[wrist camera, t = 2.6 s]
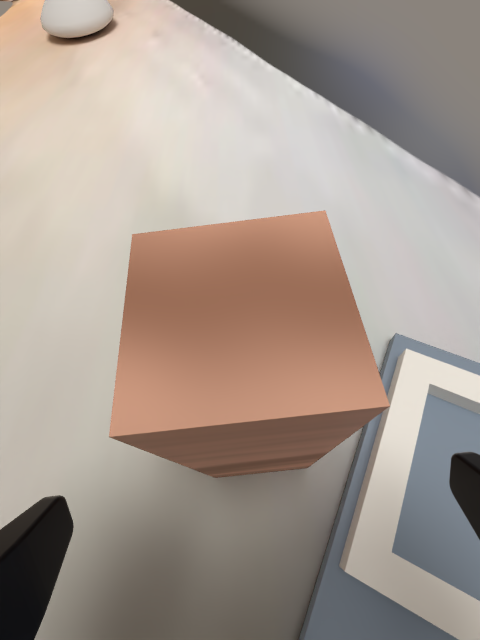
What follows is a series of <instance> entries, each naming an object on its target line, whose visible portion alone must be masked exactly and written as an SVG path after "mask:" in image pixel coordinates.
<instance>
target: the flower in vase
mask: <svg viewBox="0 0 480 640" xmlns="http://www.w3.org/2000/svg"><path fill="white" fill-rule="evenodd" d="M113 12H114V11H113V8H112V7H111V5H110V3H109V2H108V1H107V0H45V2H44V5H43V8H42V13H41V24H42V27H43V29H44V30H45V31H46V32H48V33H49V34H51V35H54V36H57V37H62V38H74V37H81V36H85V35H89V34H92V33H95V32H97V31H99V30H101V29H103V28H104V27H105V26H106V25H107V24H108V23H109V22H110V21H111V20H112V18H113Z"/></svg>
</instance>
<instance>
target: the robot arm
mask: <svg viewBox="0 0 480 640" xmlns="http://www.w3.org/2000/svg"><path fill="white" fill-rule="evenodd" d="M449 485H450V489H451V492H452V494H453V496H454V497H455V499H456V501H457V503H458V504H459V506H460V508H461V509H462V511H463V513H464V514H465V516H466V518H467V520H468V521H469V523H470V525H471V526H472V528H473V530H474V531H475V533H476V535H477V537H478V538H479V540H480V455H479V454H477V453H474V452H460V453H455V454H453V455H452V457H451V464H450V478H449ZM72 533H73V520H72V517H71V514H70V511H69V508H68V505H67V502H66V499H65V498H64V497H63V496H50V497H45V498H43V499H41V500H40V501H38V502H37V503H36V504H34V505H33V506H32V507H30V508H29V509H28V510H26V511H25V512H24V513H22V514H21V515H19V516H18V517H17V518H15V519H14V520H13V521H11V522H10V523H9V524H7V525H6V526H5V527H3V528H2V529H1V530H0V640H34V638H35V636H36V634H37V631H38V629H39V627H40V624H41V622H42V619H43V617H44V614H45V612H46V609H47V606H48V604H49V601H50V598H51V595H52V592H53V589H54V586H55V583H56V581H57V578H58V575H59V572H60V569H61V566H62V563H63V560H64V557H65V554H66V551H67V548H68V545H69V542H70V540H71V537H72Z"/></svg>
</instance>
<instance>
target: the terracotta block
mask: <svg viewBox="0 0 480 640" xmlns="http://www.w3.org/2000/svg"><path fill="white" fill-rule="evenodd" d="M388 407H390V404H389V401H388V398H387V395H386V392H385V389H384V386H383V383H382V380H381V377H380V374H379V371H378V368H377V365H376V362H375V359H374V356H373V353H372V350H371V347H370V344H369V341H368V338H367V335H366V332H365V329H364V326H363V323H362V320H361V317H360V314H359V311H358V308H357V305H356V302H355V299H354V296H353V293H352V290H351V287H350V284H349V281H348V278H347V275H346V272H345V269H344V266H343V263H342V260H341V257H340V254H339V251H338V248H337V245H336V242H335V238H334V235H333V232H332V229H331V226H330V223H329V220H328V217H327V214H326V211H318V212H310V213H301V214H293V215H285V216H277V217H269V218H261V219H253V220H245V221H237V222H229V223H220V224H212V225H204V226H196V227H188V228H180V229H172V230H164V231H156V232H148V233H140V234H132V242H131V251H130V260H129V268H128V277H127V286H126V294H125V303H124V312H123V320H122V329H121V338H120V347H119V355H118V364H117V373H116V381H115V390H114V399H113V407H112V416H111V425H110V433H109V437H111V438H113V439H116V440H118V441H121V442H124V443H126V444H129V445H131V446H134V447H136V448H139V449H142V450H144V451H147V452H149V453H152V454H155V455H157V456H160V457H162V458H165V459H168V460H170V461H173V462H175V463H178V464H181V465H183V466H186V467H188V468H191V469H194V470H196V471H199V472H201V473H204V474H207V475H209V476H212V477H214V478H218V477H227V476H237V475H246V474H255V473H265V472H274V471H284V470H293V469H303V468H308V467H309V466H311V465H312V464H313V463H315V462H316V461H317V460H319V459H320V458H321V457H323V456H324V455H325V454H327V453H328V452H329V451H331V450H332V449H333V448H335V447H336V446H337V445H339V444H340V443H341V442H343V441H344V440H345V439H347V438H348V437H349V436H351V435H352V434H353V433H355V432H356V431H357V430H359V429H360V428H361V427H363V426H364V425H365V424H367V423H368V422H370V421H371V420H372V419H374V418H375V417H376V416H378V415H379V414H380V413H382V412H383V411H384V410H386V409H387V408H388Z"/></svg>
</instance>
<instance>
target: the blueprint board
mask: <svg viewBox="0 0 480 640" xmlns="http://www.w3.org/2000/svg"><path fill="white" fill-rule="evenodd" d="M380 377H381V380H382V383H383V386H384V389H385V392H386V395H387V398H388V401H389V404H390V407H388V408H387V409H386V410H384V411H383V412H382V413H380V414H379V415H378V416H376V417H375V418H374V419H372V420H371V421H370V422H368V423H367V424H365V425H364V428H363V431H362V434H361V438H360V441H359V444H358V448H357V451H356V454H355V457H354V461H353V464H352V467H351V470H350V474H349V477H348V480H347V483H346V487H345V490H344V493H343V497H342V500H341V503H340V506H339V510H338V513H337V516H336V519H335V523H334V526H333V529H332V533H331V536H330V539H329V542H328V546H327V549H326V552H325V555H324V559H323V562H322V565H321V569H320V572H319V575H318V578H317V582H316V585H315V588H314V591H313V595H312V598H311V601H310V604H309V608H308V611H307V614H306V618H305V621H304V624H303V627H302V631H301V634H300V637H299V640H480V540H479V538H478V537H477V535H476V533H475V531H474V530H473V528H472V526H471V525H470V523H469V521H468V520H467V518H466V516H465V514H464V513H463V511H462V509H461V508H460V506H459V504H458V503H457V501H456V499H455V497H454V496H453V494H452V492H451V489H450V485H449V478H450V464H451V457H452V455H453V454H455V453H460V452H474V453H477V454H479V455H480V363H477V362H475V361H472V360H469V359H466V358H463V357H461V356H458V355H455V354H452V353H450V352H447V351H444V350H441V349H438V348H436V347H433V346H430V345H427V344H424V343H422V342H419V341H416V340H413V339H410V338H408V337H405V336H402V335H399V334H397V333H396V334H395V335H394V336H393V338H392V339H391V340H390V343H389V346H388V349H387V353H386V356H385V359H384V362H383V366H382V369H381V372H380Z"/></svg>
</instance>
